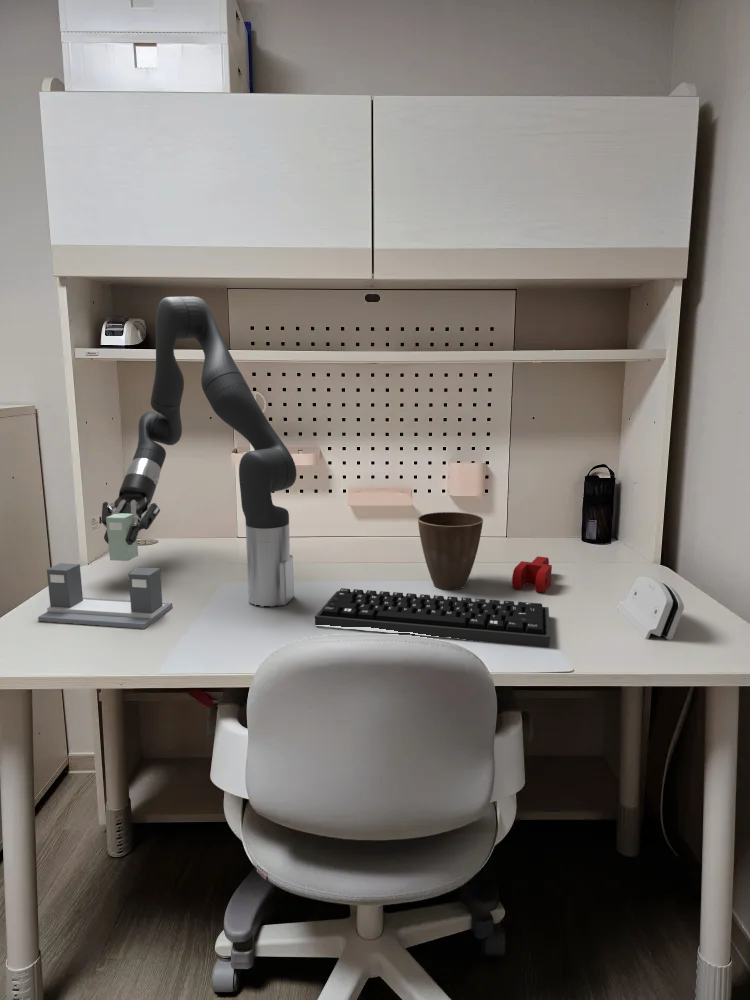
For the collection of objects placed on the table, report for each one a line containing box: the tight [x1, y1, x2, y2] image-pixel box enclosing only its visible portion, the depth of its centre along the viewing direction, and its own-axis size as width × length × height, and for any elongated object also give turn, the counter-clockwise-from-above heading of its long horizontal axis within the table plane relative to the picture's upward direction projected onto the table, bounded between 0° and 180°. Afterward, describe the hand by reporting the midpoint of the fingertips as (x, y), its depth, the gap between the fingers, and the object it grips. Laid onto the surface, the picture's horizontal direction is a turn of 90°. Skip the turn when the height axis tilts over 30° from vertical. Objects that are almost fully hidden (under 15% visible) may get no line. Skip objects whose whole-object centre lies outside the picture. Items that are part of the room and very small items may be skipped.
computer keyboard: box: [314, 587, 551, 648], centre depth 138 cm, size 45×16×4 cm, turn 77°
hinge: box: [616, 576, 685, 641], centre depth 137 cm, size 17×5×10 cm, turn 0°
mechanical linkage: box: [511, 556, 553, 594], centre depth 162 cm, size 16×7×5 cm, turn 153°
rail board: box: [37, 562, 173, 630], centre depth 141 cm, size 23×12×10 cm, turn 80°
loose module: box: [106, 513, 139, 562], centre depth 157 cm, size 4×5×10 cm
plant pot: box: [417, 511, 484, 591], centre depth 159 cm, size 15×15×16 cm
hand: (118, 542), depth 155 cm, fingers closed on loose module, 4 cm apart
